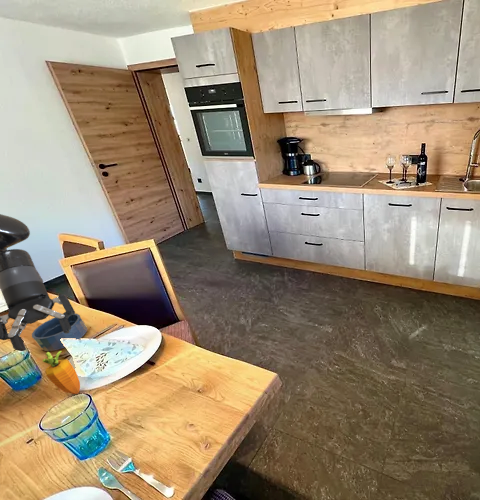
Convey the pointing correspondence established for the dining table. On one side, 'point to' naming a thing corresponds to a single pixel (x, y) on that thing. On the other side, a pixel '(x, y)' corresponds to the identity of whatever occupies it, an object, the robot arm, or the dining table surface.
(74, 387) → the carrot
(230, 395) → the dining table surface
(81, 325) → the bowl
